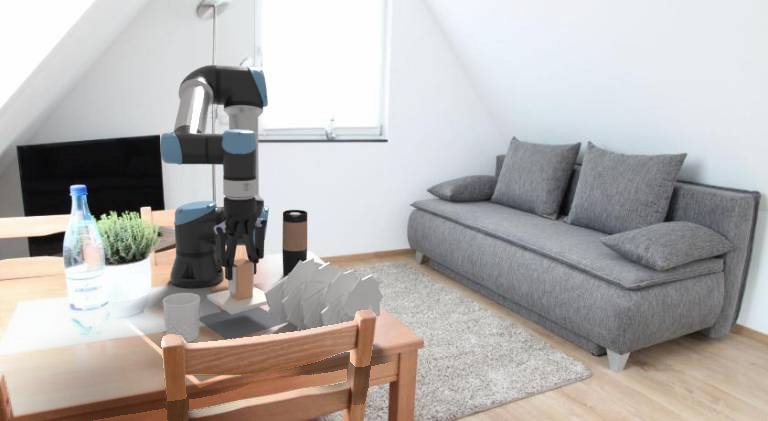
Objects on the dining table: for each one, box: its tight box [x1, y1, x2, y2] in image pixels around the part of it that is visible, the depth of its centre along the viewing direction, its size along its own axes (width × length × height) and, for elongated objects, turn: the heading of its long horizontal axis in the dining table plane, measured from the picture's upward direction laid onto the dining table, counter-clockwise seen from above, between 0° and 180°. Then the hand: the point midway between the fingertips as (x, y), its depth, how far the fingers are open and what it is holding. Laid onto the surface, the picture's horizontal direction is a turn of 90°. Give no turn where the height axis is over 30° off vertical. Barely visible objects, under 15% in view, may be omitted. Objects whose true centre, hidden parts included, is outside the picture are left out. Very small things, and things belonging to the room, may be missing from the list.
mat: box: [199, 306, 285, 340], centre depth 138 cm, size 16×16×1 cm
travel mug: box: [281, 209, 308, 277], centre depth 174 cm, size 8×8×20 cm
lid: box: [206, 257, 268, 315], centre depth 136 cm, size 12×12×10 cm
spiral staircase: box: [264, 257, 384, 332], centre depth 132 cm, size 18×18×25 cm
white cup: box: [162, 292, 201, 343], centre depth 127 cm, size 8×8×10 cm
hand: (241, 289), depth 137 cm, fingers closed on lid, 4 cm apart
